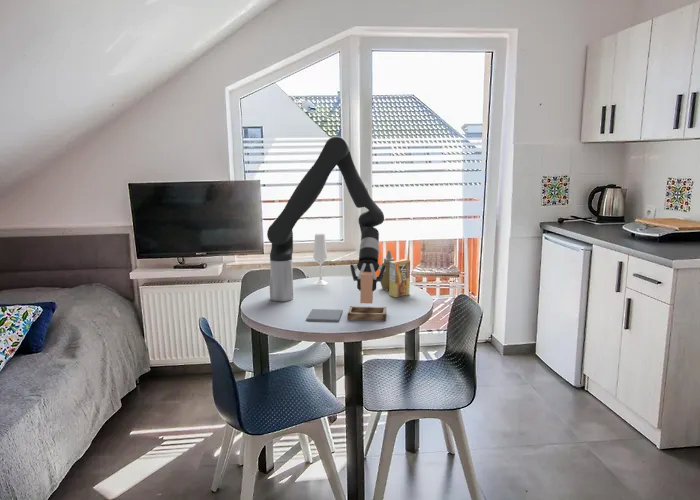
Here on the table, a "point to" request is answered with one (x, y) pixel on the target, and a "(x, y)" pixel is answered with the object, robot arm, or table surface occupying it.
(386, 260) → the squeeze bottle
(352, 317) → the walnut cradle
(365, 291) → the terracotta block
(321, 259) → the champagne flute
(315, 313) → the slate mat
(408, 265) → the candy box
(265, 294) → the table surface
